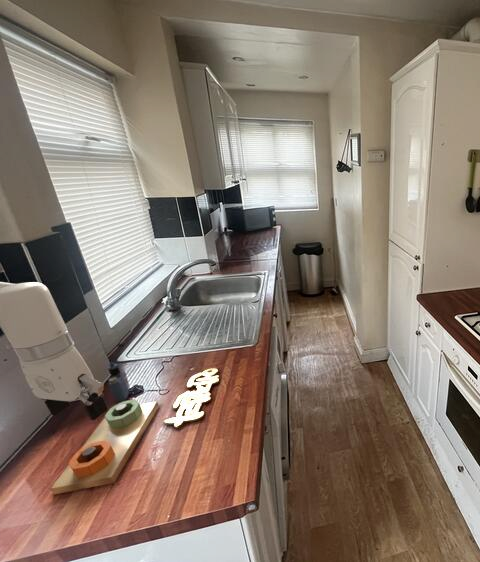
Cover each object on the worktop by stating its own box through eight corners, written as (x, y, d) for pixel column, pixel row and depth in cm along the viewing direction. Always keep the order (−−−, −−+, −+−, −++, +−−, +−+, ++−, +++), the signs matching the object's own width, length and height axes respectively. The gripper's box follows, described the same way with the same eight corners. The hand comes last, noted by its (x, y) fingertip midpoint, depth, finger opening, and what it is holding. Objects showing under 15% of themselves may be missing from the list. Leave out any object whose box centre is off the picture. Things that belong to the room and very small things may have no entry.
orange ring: (67, 480, 70) (61, 471, 68) (87, 452, 76) (82, 444, 75) (103, 473, 71) (98, 464, 70) (120, 446, 77) (115, 438, 76)
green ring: (103, 430, 82) (99, 422, 81) (118, 410, 89) (114, 402, 88) (133, 425, 84) (130, 417, 82) (146, 406, 90) (142, 398, 89)
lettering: (194, 372, 107) (193, 370, 106) (224, 368, 108) (224, 366, 108) (161, 430, 84) (160, 428, 84) (200, 424, 85) (199, 421, 85)
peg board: (53, 494, 69) (42, 476, 66) (114, 413, 90) (107, 397, 88) (114, 482, 71) (104, 464, 68) (159, 406, 93) (153, 390, 90)
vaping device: (130, 390, 99) (118, 360, 95) (125, 401, 95) (111, 370, 90) (121, 392, 98) (107, 362, 94) (115, 404, 94) (100, 372, 89)
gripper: (-16, 354, 57) (27, 422, 64) (61, 360, 54) (97, 431, 61) (31, 332, 64) (65, 396, 70) (102, 337, 61) (130, 403, 68)
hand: (80, 412), depth 66 cm, fingers open, 9 cm apart
